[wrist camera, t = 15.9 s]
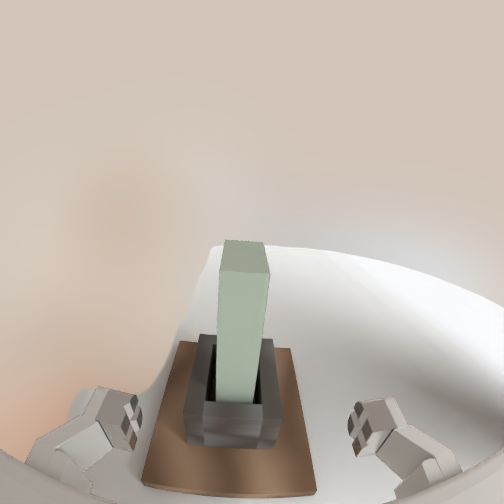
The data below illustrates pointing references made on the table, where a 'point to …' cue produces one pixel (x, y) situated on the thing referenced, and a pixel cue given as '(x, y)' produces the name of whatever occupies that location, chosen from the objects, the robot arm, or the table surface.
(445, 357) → the table surface
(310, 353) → the table surface
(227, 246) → the pale green block
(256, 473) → the wooden base with socket
